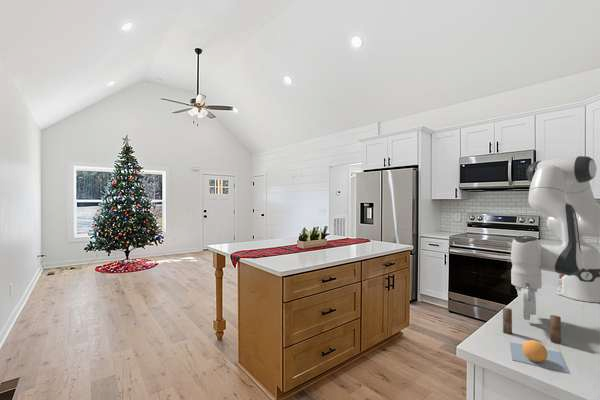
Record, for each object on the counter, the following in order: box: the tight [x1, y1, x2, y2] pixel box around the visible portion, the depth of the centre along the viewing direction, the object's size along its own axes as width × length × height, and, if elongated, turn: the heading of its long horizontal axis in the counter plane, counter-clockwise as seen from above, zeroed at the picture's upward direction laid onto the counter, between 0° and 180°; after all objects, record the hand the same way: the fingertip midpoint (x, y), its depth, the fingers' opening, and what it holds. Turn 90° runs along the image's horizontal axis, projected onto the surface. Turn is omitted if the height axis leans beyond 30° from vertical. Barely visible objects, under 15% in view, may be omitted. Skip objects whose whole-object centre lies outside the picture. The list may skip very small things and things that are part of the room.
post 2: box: [549, 314, 562, 345], centre depth 93 cm, size 2×2×8 cm
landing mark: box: [509, 341, 570, 374], centre depth 85 cm, size 12×12×1 cm
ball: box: [522, 339, 548, 362], centre depth 83 cm, size 6×6×6 cm
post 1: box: [502, 307, 513, 335], centre depth 100 cm, size 2×2×8 cm
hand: (526, 318), depth 107 cm, fingers closed
